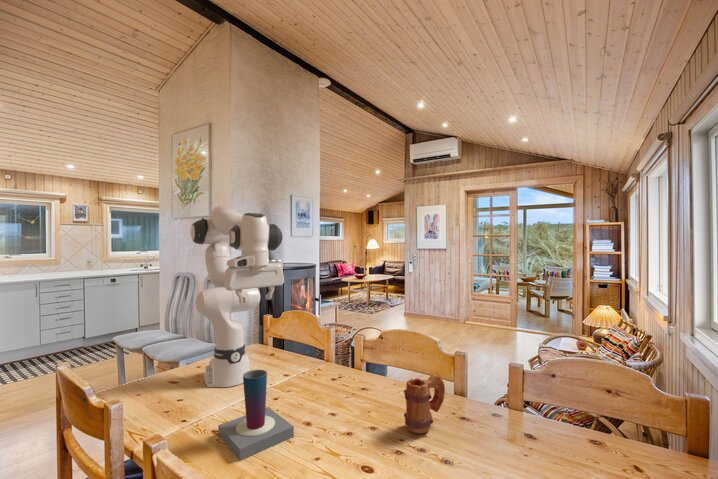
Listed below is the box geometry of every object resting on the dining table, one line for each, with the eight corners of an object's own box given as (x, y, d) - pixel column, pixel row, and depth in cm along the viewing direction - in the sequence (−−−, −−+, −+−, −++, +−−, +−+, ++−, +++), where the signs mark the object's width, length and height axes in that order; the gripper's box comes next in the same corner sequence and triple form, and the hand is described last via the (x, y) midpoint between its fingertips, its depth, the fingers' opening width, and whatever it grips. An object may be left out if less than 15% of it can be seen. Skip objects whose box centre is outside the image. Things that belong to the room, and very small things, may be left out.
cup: (261, 432, 96) (260, 379, 96) (239, 430, 97) (238, 377, 97) (271, 419, 103) (270, 370, 103) (250, 418, 104) (249, 369, 104)
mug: (413, 440, 96) (412, 387, 97) (397, 427, 104) (396, 377, 104) (452, 427, 103) (452, 377, 103) (435, 415, 110) (434, 368, 111)
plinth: (218, 435, 101) (218, 424, 101) (268, 416, 111) (268, 406, 111) (240, 460, 89) (240, 448, 89) (293, 436, 99) (293, 425, 99)
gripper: (278, 258, 125) (278, 296, 125) (221, 261, 111) (222, 303, 111) (287, 259, 120) (287, 298, 120) (229, 262, 107) (229, 306, 106)
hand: (255, 301), depth 115 cm, fingers open, 8 cm apart
